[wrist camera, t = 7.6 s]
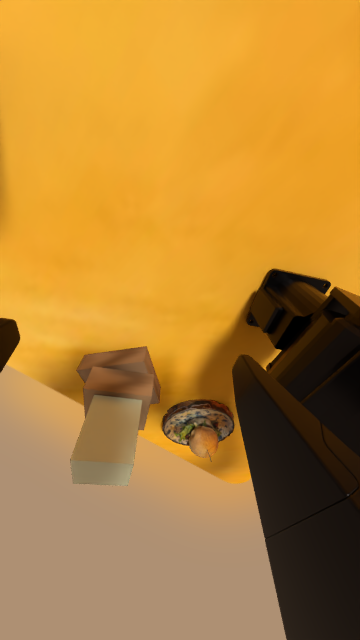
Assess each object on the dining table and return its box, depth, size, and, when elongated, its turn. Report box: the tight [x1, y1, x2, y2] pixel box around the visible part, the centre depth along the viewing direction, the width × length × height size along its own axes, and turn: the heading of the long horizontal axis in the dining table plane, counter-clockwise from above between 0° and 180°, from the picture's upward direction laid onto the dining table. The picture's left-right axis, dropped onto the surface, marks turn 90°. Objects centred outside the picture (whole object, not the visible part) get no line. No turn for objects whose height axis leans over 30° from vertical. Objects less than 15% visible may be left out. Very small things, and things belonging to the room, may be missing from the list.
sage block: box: [70, 395, 142, 486], centre depth 20 cm, size 5×5×6 cm
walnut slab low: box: [77, 346, 161, 404], centre depth 26 cm, size 8×8×3 cm
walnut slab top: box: [83, 366, 154, 430], centre depth 24 cm, size 7×7×3 cm
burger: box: [163, 399, 234, 462], centre depth 31 cm, size 12×12×8 cm
